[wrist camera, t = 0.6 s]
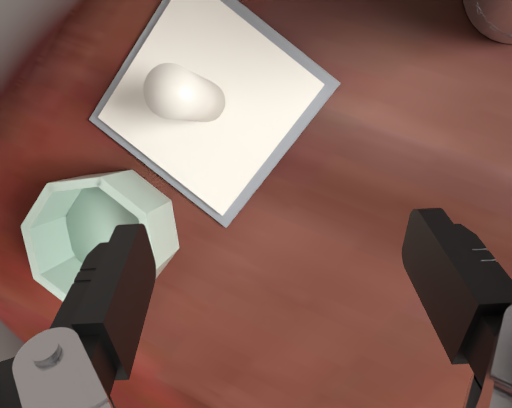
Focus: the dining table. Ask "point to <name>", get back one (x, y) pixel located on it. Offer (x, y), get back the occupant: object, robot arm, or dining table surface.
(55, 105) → the dining table surface
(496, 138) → the dining table surface
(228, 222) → the mat
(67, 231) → the bowl
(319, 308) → the dining table surface
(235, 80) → the cover
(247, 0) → the dining table surface
